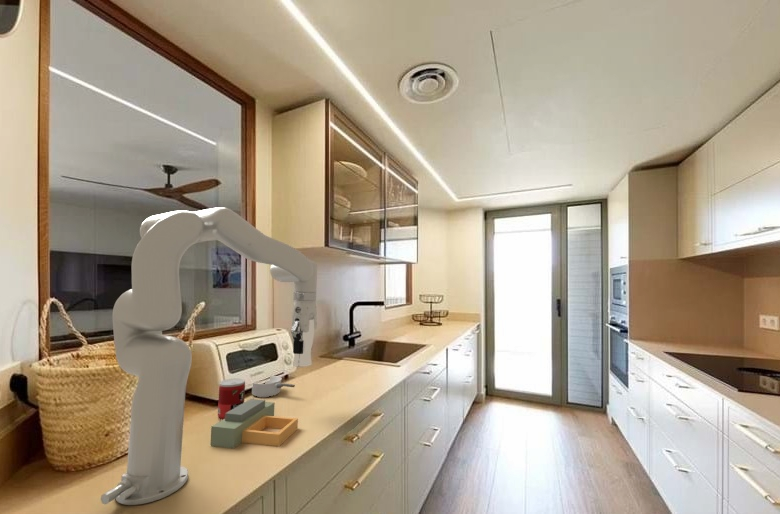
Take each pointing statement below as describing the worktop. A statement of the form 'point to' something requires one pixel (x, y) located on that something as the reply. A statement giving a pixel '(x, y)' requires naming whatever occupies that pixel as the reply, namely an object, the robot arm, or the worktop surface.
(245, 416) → the stepped block with tray
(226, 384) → the canned food
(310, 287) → the robot arm
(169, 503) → the worktop surface
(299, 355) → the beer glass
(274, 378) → the saucepan
